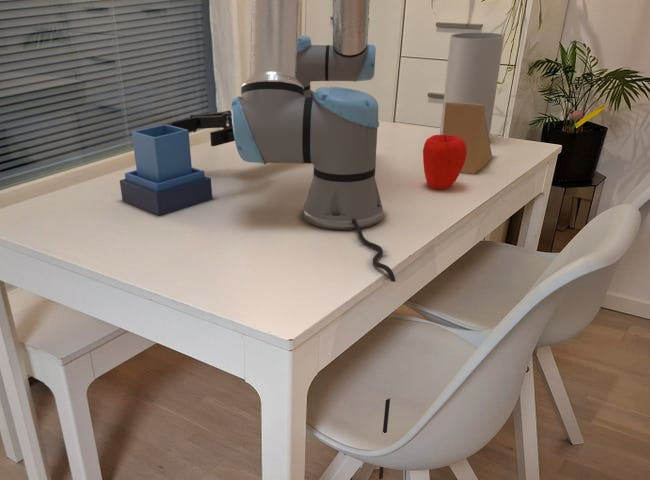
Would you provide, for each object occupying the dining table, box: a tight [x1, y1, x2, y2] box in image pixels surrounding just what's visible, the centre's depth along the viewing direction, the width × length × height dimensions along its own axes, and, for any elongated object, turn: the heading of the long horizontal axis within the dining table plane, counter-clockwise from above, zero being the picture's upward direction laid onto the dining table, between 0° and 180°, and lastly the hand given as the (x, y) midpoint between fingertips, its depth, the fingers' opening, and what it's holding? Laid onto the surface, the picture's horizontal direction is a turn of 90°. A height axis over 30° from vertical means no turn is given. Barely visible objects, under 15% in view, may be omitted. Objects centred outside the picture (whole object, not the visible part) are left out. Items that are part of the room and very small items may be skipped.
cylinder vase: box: [439, 32, 505, 137], centre depth 170 cm, size 12×12×25 cm
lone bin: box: [131, 123, 193, 184], centre depth 140 cm, size 8×8×13 cm
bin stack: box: [119, 166, 213, 217], centre depth 143 cm, size 14×14×6 cm
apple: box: [422, 134, 467, 190], centre depth 143 cm, size 9×9×11 cm
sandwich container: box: [443, 102, 493, 175], centre depth 156 cm, size 9×15×15 cm, turn 148°
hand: (191, 134), depth 142 cm, fingers open, 13 cm apart
